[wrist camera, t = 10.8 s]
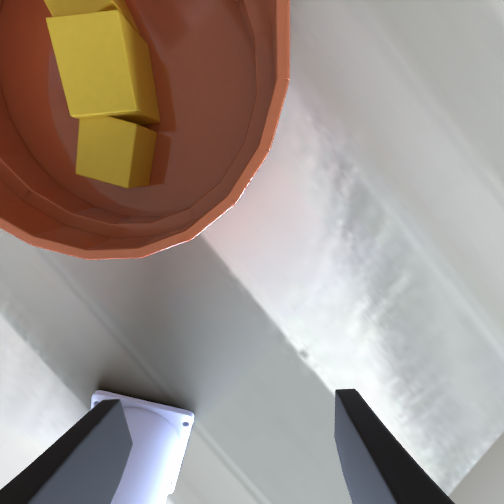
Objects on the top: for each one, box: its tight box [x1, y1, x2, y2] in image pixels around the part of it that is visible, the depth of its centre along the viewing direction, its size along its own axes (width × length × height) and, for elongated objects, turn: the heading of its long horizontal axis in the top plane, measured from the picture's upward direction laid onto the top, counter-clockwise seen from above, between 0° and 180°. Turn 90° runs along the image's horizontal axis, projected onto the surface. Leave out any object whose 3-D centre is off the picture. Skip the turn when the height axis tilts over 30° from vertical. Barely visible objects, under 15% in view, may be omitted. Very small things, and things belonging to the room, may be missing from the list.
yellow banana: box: [44, 0, 161, 188], centre depth 12 cm, size 10×4×3 cm, turn 4°
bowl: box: [0, 0, 290, 260], centre depth 12 cm, size 16×16×5 cm
